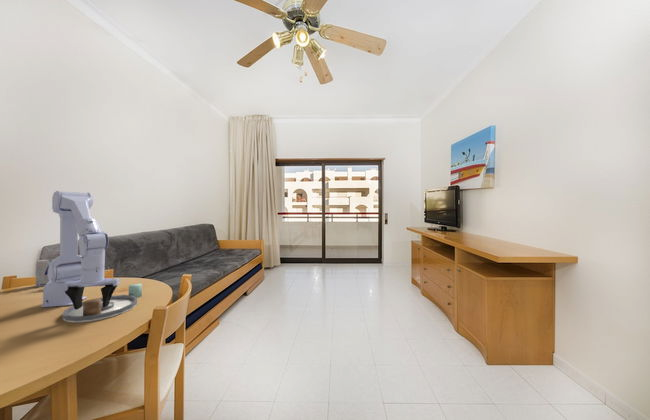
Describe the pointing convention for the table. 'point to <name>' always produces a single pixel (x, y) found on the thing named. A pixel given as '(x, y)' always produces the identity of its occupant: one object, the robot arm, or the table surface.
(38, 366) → the table surface
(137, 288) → the mint green cylinder
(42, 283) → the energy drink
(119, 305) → the groove tray
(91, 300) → the walnut bead
